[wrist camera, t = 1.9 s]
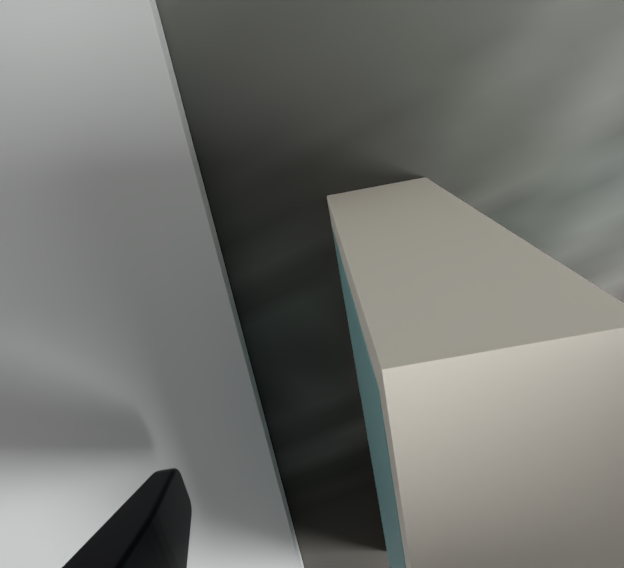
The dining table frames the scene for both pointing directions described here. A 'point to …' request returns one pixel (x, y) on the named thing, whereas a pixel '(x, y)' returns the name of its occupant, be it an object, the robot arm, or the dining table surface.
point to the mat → (117, 301)
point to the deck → (481, 386)
